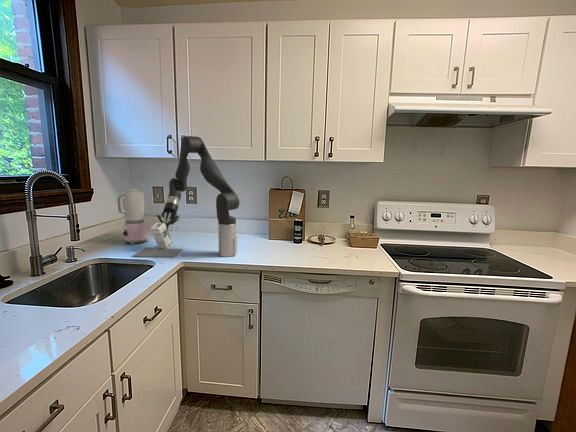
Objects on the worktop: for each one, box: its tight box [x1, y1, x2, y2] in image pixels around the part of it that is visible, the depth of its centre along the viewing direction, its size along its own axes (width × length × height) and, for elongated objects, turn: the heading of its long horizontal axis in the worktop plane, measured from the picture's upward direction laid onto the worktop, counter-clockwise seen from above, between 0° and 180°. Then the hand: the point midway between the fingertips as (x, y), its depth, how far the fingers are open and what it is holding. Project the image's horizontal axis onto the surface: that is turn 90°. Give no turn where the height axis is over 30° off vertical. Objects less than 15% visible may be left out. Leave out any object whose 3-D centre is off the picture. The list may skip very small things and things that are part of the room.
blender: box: [117, 188, 148, 246], centre depth 171 cm, size 16×12×32 cm
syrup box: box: [150, 222, 173, 249], centre depth 160 cm, size 6×6×14 cm
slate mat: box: [131, 247, 183, 259], centre depth 154 cm, size 21×14×1 cm, turn 91°
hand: (164, 229), depth 162 cm, fingers closed
